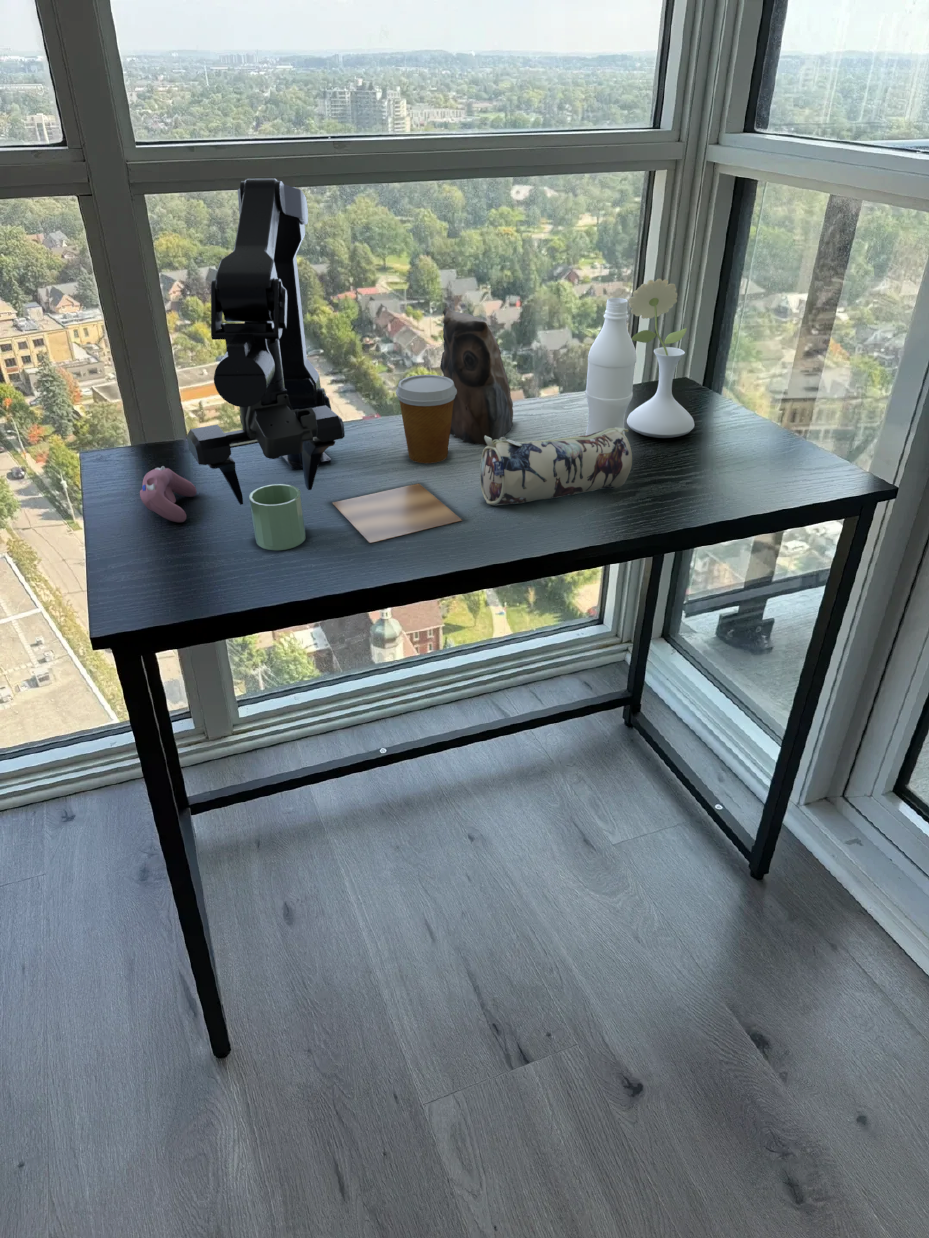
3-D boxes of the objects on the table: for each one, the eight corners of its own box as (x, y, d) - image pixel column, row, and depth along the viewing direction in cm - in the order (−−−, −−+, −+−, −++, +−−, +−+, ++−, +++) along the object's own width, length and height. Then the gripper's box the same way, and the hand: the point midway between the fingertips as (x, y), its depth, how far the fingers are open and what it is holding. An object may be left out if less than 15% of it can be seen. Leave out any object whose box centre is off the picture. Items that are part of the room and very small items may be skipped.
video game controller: (175, 504, 129) (144, 466, 125) (200, 490, 128) (170, 451, 124) (161, 535, 120) (128, 495, 117) (188, 521, 119) (156, 480, 116)
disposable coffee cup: (450, 470, 135) (449, 395, 128) (391, 465, 137) (387, 391, 130) (462, 447, 143) (462, 375, 136) (407, 443, 144) (404, 372, 138)
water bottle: (574, 468, 135) (586, 303, 122) (586, 452, 141) (599, 292, 127) (619, 475, 133) (636, 308, 119) (629, 458, 139) (647, 297, 125)
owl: (496, 450, 142) (498, 326, 131) (424, 441, 145) (420, 319, 134) (516, 423, 152) (520, 306, 141) (448, 416, 155) (447, 300, 144)
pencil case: (494, 517, 121) (495, 451, 116) (475, 492, 128) (475, 429, 123) (634, 496, 127) (641, 433, 122) (609, 474, 134) (615, 413, 128)
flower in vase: (693, 423, 152) (715, 273, 138) (692, 447, 143) (716, 289, 129) (618, 417, 154) (633, 269, 141) (613, 440, 145) (628, 285, 131)
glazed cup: (250, 534, 117) (243, 490, 114) (296, 523, 120) (291, 480, 116) (264, 554, 112) (257, 509, 109) (312, 543, 115) (307, 499, 112)
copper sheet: (332, 503, 125) (332, 502, 125) (418, 484, 131) (418, 483, 131) (369, 543, 115) (369, 542, 115) (462, 520, 120) (462, 520, 120)
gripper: (198, 412, 95) (221, 537, 103) (356, 385, 102) (365, 505, 111) (175, 383, 103) (198, 502, 111) (323, 360, 110) (334, 473, 119)
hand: (275, 496), depth 113 cm, fingers open, 9 cm apart
